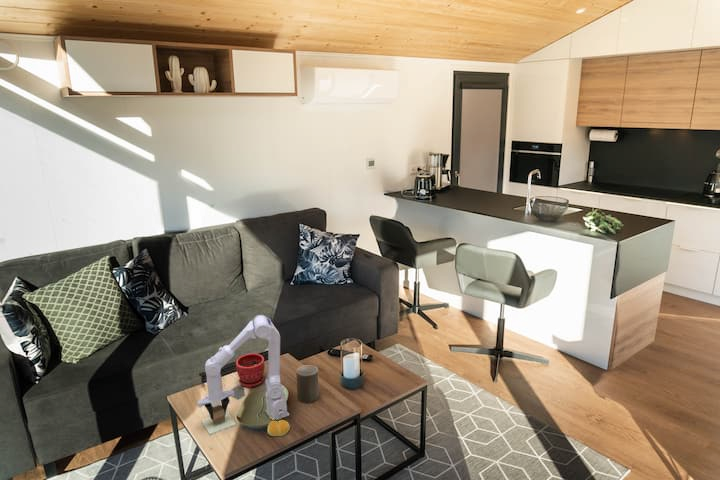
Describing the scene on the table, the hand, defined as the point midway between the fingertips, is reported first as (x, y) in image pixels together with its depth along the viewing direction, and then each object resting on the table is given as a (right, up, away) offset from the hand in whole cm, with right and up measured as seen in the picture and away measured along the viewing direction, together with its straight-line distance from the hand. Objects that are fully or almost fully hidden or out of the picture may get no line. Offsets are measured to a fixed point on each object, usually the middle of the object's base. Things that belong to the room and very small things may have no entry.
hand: (218, 416), depth 204 cm
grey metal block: (+4, +2, +20) cm, 20 cm away
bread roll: (+26, -5, -4) cm, 26 cm away
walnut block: (0, -2, +1) cm, 2 cm away
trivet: (0, -3, +1) cm, 3 cm away
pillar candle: (+36, +2, +18) cm, 40 cm away
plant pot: (+7, +5, +31) cm, 32 cm away
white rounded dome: (-6, 0, +15) cm, 16 cm away
